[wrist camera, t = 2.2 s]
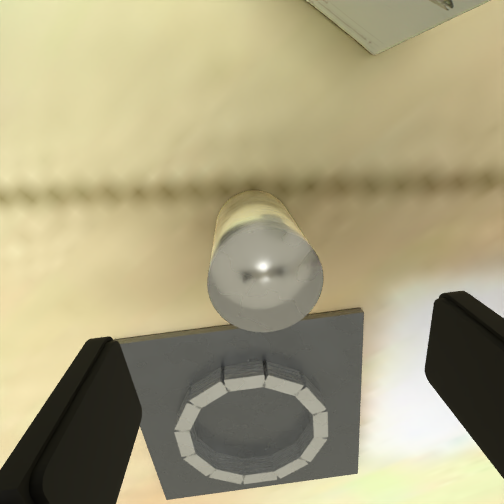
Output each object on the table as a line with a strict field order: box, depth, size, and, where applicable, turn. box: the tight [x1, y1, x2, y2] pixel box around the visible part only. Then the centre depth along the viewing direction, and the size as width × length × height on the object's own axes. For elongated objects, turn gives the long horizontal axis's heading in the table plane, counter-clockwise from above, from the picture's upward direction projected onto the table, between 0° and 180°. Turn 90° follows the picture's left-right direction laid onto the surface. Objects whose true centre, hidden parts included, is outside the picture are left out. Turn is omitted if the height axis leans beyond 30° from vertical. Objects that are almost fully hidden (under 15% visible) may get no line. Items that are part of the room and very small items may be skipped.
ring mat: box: [114, 308, 364, 500], centre depth 26 cm, size 19×19×2 cm
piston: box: [207, 190, 323, 332], centre depth 17 cm, size 5×5×8 cm
